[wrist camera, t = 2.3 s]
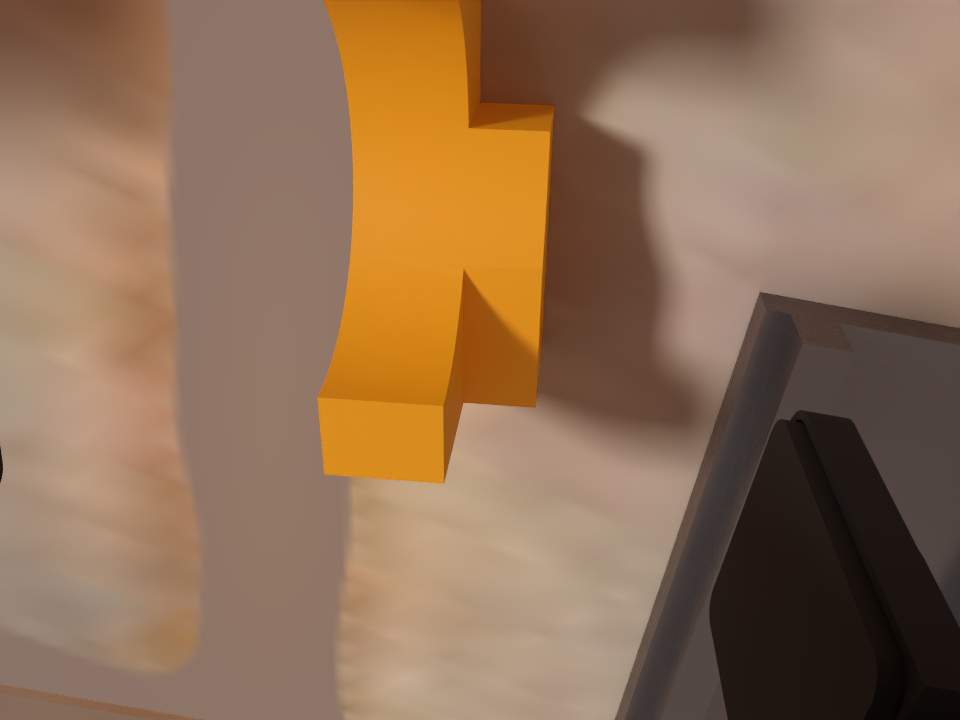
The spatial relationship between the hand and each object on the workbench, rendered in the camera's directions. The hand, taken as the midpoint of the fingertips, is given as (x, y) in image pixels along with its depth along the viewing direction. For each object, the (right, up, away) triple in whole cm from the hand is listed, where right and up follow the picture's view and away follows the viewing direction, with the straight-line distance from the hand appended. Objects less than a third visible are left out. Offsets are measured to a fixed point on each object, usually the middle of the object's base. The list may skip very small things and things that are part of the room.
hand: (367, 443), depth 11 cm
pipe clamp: (+1, +7, +11) cm, 13 cm away
